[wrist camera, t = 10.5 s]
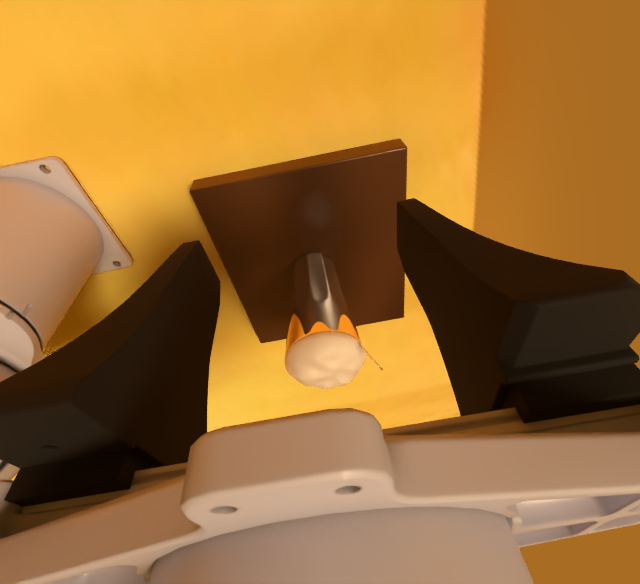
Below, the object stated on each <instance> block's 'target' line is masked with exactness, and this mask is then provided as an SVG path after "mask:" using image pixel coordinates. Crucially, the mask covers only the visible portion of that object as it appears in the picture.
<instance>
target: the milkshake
mask: <svg viewBox="0 0 640 584" xmlns="http://www.w3.org/2000/svg"><path fill="white" fill-rule="evenodd" d="M365 352H366V353H367V354H368V355H369V353H368V352H367V351H366V350H365V349H364V348H363V345H362V342H361V340H360V337H359V334H358V332H357V329H356V326H355V324H354V321H353V318H352V316H351V313H350V311H349V309H348V306H347V304H346V301H345V297H344V294H343V291H342V288H341V285H340V282H339V279H338V275H337V272H336V269H335V267H334V264H333V261H332V259H331V258H329V257H327V256H325V255H324V254H322V253H307V254H305V255H303V256H302V257H300V258H299V259H297V260H295V263H294V265H293V268H292V270H291V280H290V298H289V316H288V330H287V341H286V351H285V366H286V369H287V371H288V373H289V374H290V375H291V376H292V377H293V378H295V379H296V380H298V381H299V382H300V383H302V384H303V385H306V386H313V387H318V388H322V389H328V388H331V387H335V386H342V385H346V384H348V383H349V382H350V381H351V380H352V379H353V378H354V377H355V376H356V374H357V373H358V371H359V369H360V368H361V367H362V365H363V363H364V361H365ZM369 357H370V358H371V359H372V360H373V361H374V362H375V363H376V364H377V366H378V367H379V368H380V369H382V368H381V367H380V366H379V365H378V363H377V362H376V361H375V360H374V359H373V358H372V357H371V356H370V355H369ZM382 370H383V369H382Z"/></svg>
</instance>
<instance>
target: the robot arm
mask: <svg viewBox="0 0 640 584" xmlns="http://www.w3.org/2000/svg"><path fill="white" fill-rule="evenodd" d="M43 165H46V166H47V167H49V168H50V171H48V170H46V169H45V168H44V166H43ZM397 250H398V253H399V256H400V260H401V263H402V265H403V268H404V271H405V273H406V275H407V277H408V279H409V281H410V283H411V285H412V287H413V289H414V291H415V293H416V295H417V297H418V299H419V301H420V303H421V305H422V307H423V309H424V311H425V313H426V315H427V317H428V320H429V322H430V324H431V327H432V329H433V332H434V335H435V338H436V340H437V343H438V346H439V349H440V352H441V354H442V357H443V360H444V363H445V366H446V369H447V372H448V375H449V378H450V382H451V385H452V388H453V391H454V394H455V397H456V401H457V404H458V407H459V411H460V414H461V416H460V417H454V418H448V419H442V420H436V421H430V422H424V423H418V424H412V425H406V426H400V427H394V428H388V429H383V430H382V428H381V425H380V423H379V422H378V421H377V419H376V418H375V417H374V416H373V415H372V414H370V413H367V412H364V411H360V410H356V409H353V408H345V409H327V410H322V411H316V412H310V413H304V414H298V415H292V416H287V417H281V418H275V419H269V420H263V421H258V422H252V423H246V424H240V425H234V426H228V427H223V428H220V429H217V430H214V431H211V432H208V433H207V397H208V377H209V363H210V356H211V350H212V345H213V339H214V334H215V329H216V323H217V318H218V312H219V306H220V280H219V278H218V276H217V274H216V272H215V270H214V268H213V266H212V264H211V262H210V260H209V258H208V256H207V254H206V252H205V250H204V248H203V246H202V244H201V243H200V241H199V240H198V241H193V242H188V243H183V244H182V245H181V246H180V247H179V248H178V249H177V250H176V251H175V252H174V253H173V254H172V255H171V256H170V257H169V258H168V259H167V260H166V261H165V262H164V263H163V264H162V265H161V266H160V267H159V268H158V269H157V271H156V272H155V273H154V274H153V275H152V276H151V277H150V278H149V279H148V280H147V281H146V282H145V283H144V284H143V285H142V286H141V287H140V288H139V289H138V290H137V291H136V292H135V293H133V294H132V295H131V296H130V297H129V298H128V299H127V300H126V301H125V302H124V303H123V304H121V305H120V306H119V307H118V308H117V309H116V310H114V311H113V312H112V313H111V314H109V315H108V316H107V317H106V318H104V319H103V320H102V321H100V322H99V323H98V324H96V325H95V326H93V327H92V328H91V329H89V330H88V331H86V332H85V333H83V334H82V335H81V336H79V337H78V338H76V339H75V340H73V341H72V342H70V343H69V344H67V345H66V346H64V347H62V348H61V349H59V350H58V351H56V352H54V353H52V354H51V355H49V356H47V357H45V356H44V355H43V353H42V352H43V350H44V349H45V347H46V345H47V344H48V342H49V341H50V339H51V337H52V336H53V334H54V332H55V331H56V329H57V328H58V326H59V324H60V323H61V321H62V320H63V318H64V316H65V315H66V313H67V312H68V310H69V308H70V307H71V305H72V303H73V302H74V300H75V299H76V297H77V295H78V294H79V292H80V291H81V289H82V287H83V286H84V284H85V282H86V281H87V279H88V278H89V276H90V275H91V274H96V273H101V272H106V271H112V270H117V269H122V268H127V267H130V266H131V264H132V261H133V260H132V258H131V257H130V255H129V254H128V252H127V251H126V250H125V248H124V247H123V245H122V244H121V242H120V241H119V240H118V238H117V237H116V235H115V234H114V233H113V231H112V230H111V228H110V227H109V225H108V224H107V223H106V221H105V220H104V218H103V217H102V216H101V214H100V213H99V211H98V210H97V208H96V207H95V206H94V204H93V203H92V201H91V200H90V199H89V197H88V196H87V194H86V193H85V192H84V190H83V189H82V187H81V186H80V184H79V183H78V182H77V180H76V179H75V177H74V176H73V175H72V173H71V172H70V170H69V169H68V167H67V166H66V165H65V163H64V162H63V161H62V160H61V159H59V158H57V157H54V156H50V157H45V158H41V159H36V160H31V161H26V162H21V163H17V164H12V165H7V166H2V167H0V584H534V583H533V581H532V578H531V576H530V573H529V571H528V569H527V566H526V564H525V562H524V559H523V557H522V555H521V553H520V550H519V547H523V546H529V545H534V544H539V543H544V542H549V541H554V540H559V539H564V538H569V537H574V536H579V535H584V534H589V533H594V532H600V531H605V530H610V529H615V528H619V527H625V526H630V525H635V524H640V369H639V368H637V366H636V365H635V364H634V363H636V362H638V360H639V356H638V355H637V354H636V353H635V352H634V351H633V350H632V349H631V347H630V346H629V345H630V344H631V343H632V341H633V340H634V339H635V337H636V336H637V335H638V334H639V333H640V284H639V283H637V282H636V281H635V280H634V279H633V278H631V277H630V276H629V275H628V274H627V273H625V272H624V271H622V270H615V269H608V268H602V267H595V266H589V265H582V264H576V263H572V262H566V261H562V260H557V259H552V258H549V257H544V256H540V255H537V254H533V253H529V252H526V251H523V250H519V249H516V248H513V247H510V246H507V245H504V244H502V243H499V242H497V241H494V240H491V239H489V238H486V237H484V236H482V235H479V234H477V233H475V232H473V231H471V230H469V229H467V228H465V227H463V226H461V225H459V224H457V223H455V222H454V221H452V220H450V219H448V218H446V217H445V216H443V215H441V214H440V213H438V212H436V211H435V210H433V209H431V208H430V207H428V206H427V205H425V204H423V203H422V202H420V201H418V200H416V199H414V198H413V199H408V200H403V201H397ZM115 261H118V262H120V263H117V262H115ZM17 473H18V474H17ZM16 474H17V476H16V478H15V480H14V481H13V480H11V479H12V478H13V477H14V476H15V475H16Z"/></svg>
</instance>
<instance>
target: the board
mask: <svg viewBox="0 0 640 584" xmlns="http://www.w3.org/2000/svg"><path fill="white" fill-rule="evenodd" d="M406 181H407V147H406V145H405V144H404V143H403V142H402V140H401V139H396V140H391V141H386V142H381V143H376V144H371V145H366V146H361V147H356V148H351V149H347V150H342V151H337V152H332V153H327V154H322V155H317V156H312V157H307V158H302V159H297V160H292V161H288V162H283V163H278V164H273V165H268V166H263V167H258V168H253V169H248V170H243V171H238V172H233V173H229V174H224V175H219V176H214V177H209V178H204V179H199V180H194V182H193V184H192V187H191V189H190V193H191V195H192V198H193V200H194V202H195V204H196V206H197V208H198V210H199V212H200V215H201V217H202V219H203V221H204V223H205V225H206V227H207V229H208V232H209V234H210V236H211V238H212V240H213V242H214V244H215V247H216V249H217V251H218V253H219V255H220V257H221V259H222V261H223V264H224V266H225V268H226V270H227V272H228V274H229V276H230V278H231V281H232V283H233V285H234V287H235V289H236V291H237V293H238V296H239V298H240V300H241V302H242V304H243V306H244V308H245V310H246V313H247V315H248V317H249V319H250V321H251V323H252V325H253V327H254V330H255V332H256V334H257V336H258V338H259V340H260V342H261V343H265V342H271V341H276V340H282V339H287V330H288V316H289V298H290V280H291V270H292V268H293V265H294V263H295V260H297V259H299V258H300V257H302V256H303V255H305V254H307V253H322V254H324V255H325V256H327V257H329V258H331V259H332V261H333V264H334V267H335V269H336V272H337V275H338V279H339V282H340V285H341V288H342V291H343V294H344V297H345V301H346V304H347V306H348V309H349V311H350V313H351V316H352V318H353V321H354V324H355V326H359V325H364V324H370V323H376V322H381V321H387V320H392V319H398V318H403V317H404V284H405V271H404V268H403V265H402V263H401V260H400V256H399V253H398V250H397V201H403V200H406Z"/></svg>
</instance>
